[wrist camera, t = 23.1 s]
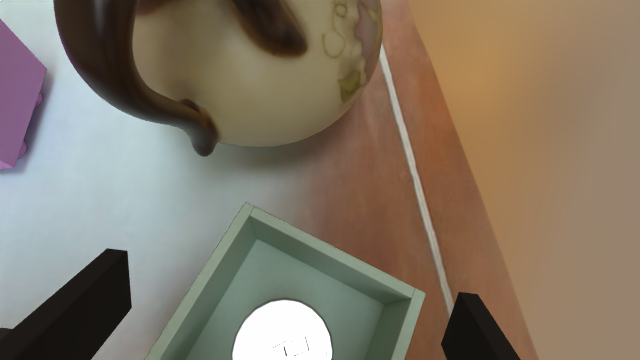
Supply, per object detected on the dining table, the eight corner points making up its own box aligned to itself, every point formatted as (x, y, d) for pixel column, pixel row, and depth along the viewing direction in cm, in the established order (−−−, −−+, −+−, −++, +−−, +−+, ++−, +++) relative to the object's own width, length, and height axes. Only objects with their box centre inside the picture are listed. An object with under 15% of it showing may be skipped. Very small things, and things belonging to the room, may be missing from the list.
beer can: (306, 299, 29) (317, 281, 18) (325, 366, 27) (351, 392, 16) (245, 320, 27) (217, 314, 17) (260, 391, 26) (240, 438, 15)
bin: (393, 301, 30) (426, 292, 23) (325, 491, 24) (340, 557, 17) (254, 229, 31) (245, 201, 24) (157, 390, 25) (109, 413, 19)
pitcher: (316, 13, 44) (346, -314, 22) (396, 157, 36) (579, -130, 13) (145, 49, 39) (-51, -332, 17) (192, 227, 31) (-67, -49, 8)
